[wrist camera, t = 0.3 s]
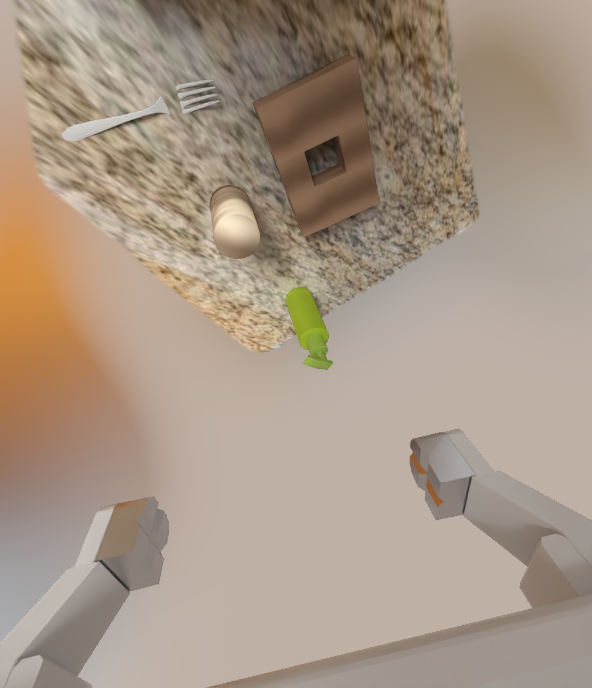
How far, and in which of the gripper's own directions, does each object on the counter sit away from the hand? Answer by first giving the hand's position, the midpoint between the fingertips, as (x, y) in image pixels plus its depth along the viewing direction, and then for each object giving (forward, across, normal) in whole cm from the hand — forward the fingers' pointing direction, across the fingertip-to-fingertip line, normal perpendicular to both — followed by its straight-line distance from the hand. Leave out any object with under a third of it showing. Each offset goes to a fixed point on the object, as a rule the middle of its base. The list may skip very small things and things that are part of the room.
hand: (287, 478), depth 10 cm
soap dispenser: (+59, -6, +20) cm, 63 cm away
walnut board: (+52, -12, -7) cm, 54 cm away
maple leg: (+52, +3, -3) cm, 52 cm away
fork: (+49, +13, -15) cm, 53 cm away
